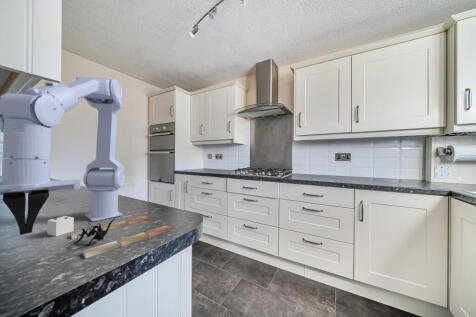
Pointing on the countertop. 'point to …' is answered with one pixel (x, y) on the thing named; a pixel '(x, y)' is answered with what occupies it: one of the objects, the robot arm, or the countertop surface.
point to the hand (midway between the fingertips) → (25, 232)
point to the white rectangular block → (60, 226)
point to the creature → (98, 235)
